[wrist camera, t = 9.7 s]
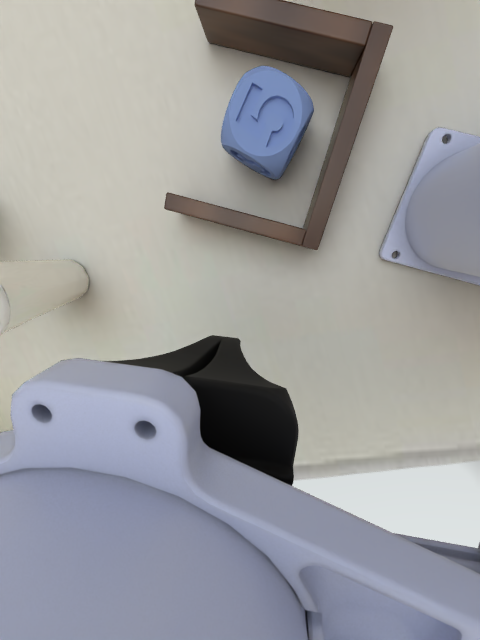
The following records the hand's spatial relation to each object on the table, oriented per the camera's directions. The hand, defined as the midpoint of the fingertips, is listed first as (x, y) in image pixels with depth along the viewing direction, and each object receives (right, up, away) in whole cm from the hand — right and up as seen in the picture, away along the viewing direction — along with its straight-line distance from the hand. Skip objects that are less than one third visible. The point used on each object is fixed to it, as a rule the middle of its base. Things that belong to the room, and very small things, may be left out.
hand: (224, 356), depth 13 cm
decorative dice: (+3, +14, +5) cm, 15 cm away
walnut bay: (+2, +13, +5) cm, 15 cm away
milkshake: (-14, +5, +10) cm, 18 cm away
